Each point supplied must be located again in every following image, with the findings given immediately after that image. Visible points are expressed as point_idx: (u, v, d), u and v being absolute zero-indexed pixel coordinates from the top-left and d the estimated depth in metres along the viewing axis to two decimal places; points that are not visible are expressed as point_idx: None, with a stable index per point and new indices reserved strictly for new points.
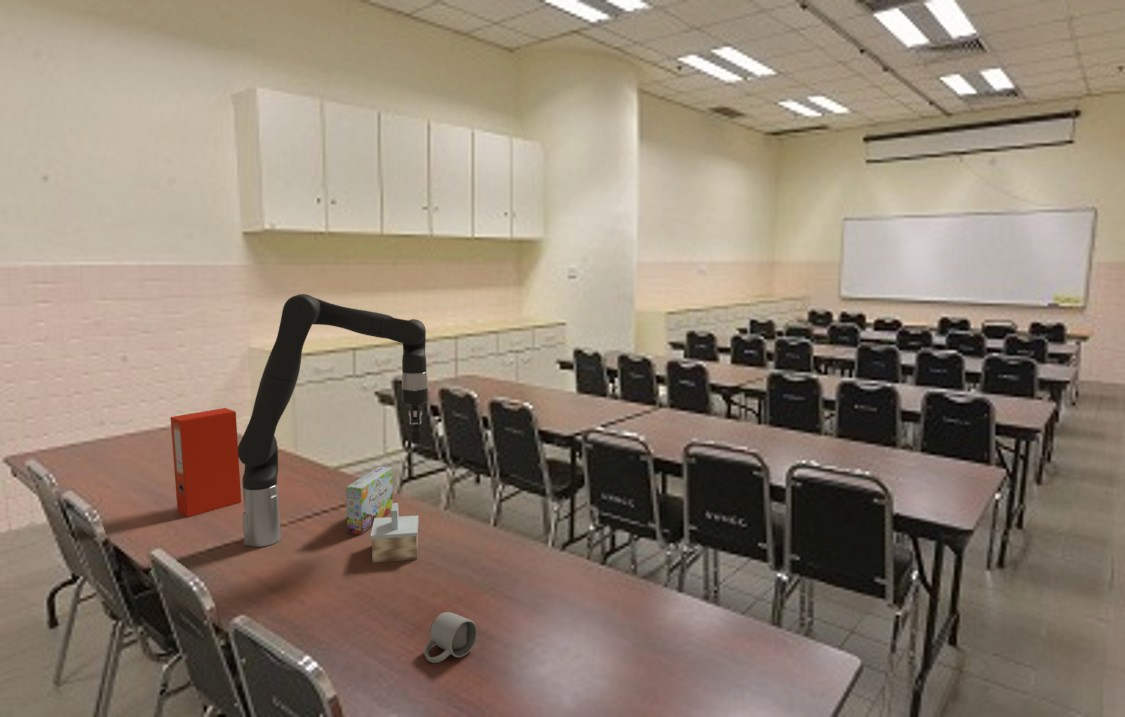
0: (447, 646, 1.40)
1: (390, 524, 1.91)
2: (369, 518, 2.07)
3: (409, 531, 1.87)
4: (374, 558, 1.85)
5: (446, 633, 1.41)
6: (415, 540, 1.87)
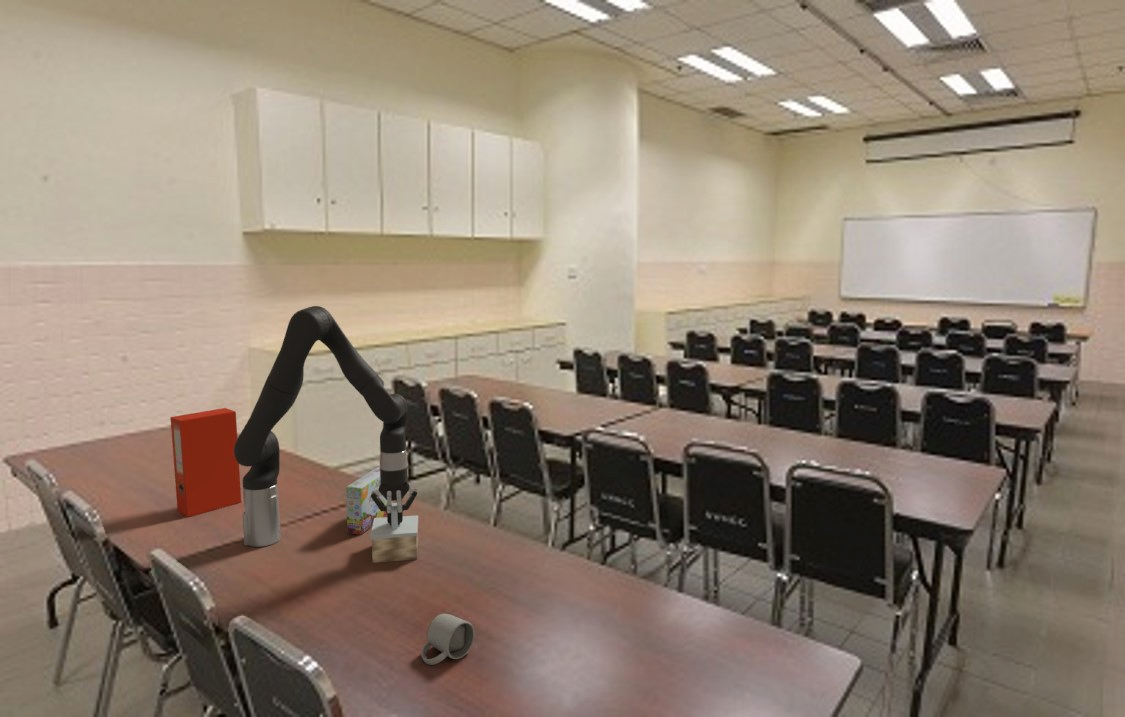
0: (444, 648, 1.40)
1: None
2: (369, 518, 2.07)
3: (409, 531, 1.87)
4: (374, 558, 1.85)
5: (443, 635, 1.40)
6: (415, 540, 1.87)
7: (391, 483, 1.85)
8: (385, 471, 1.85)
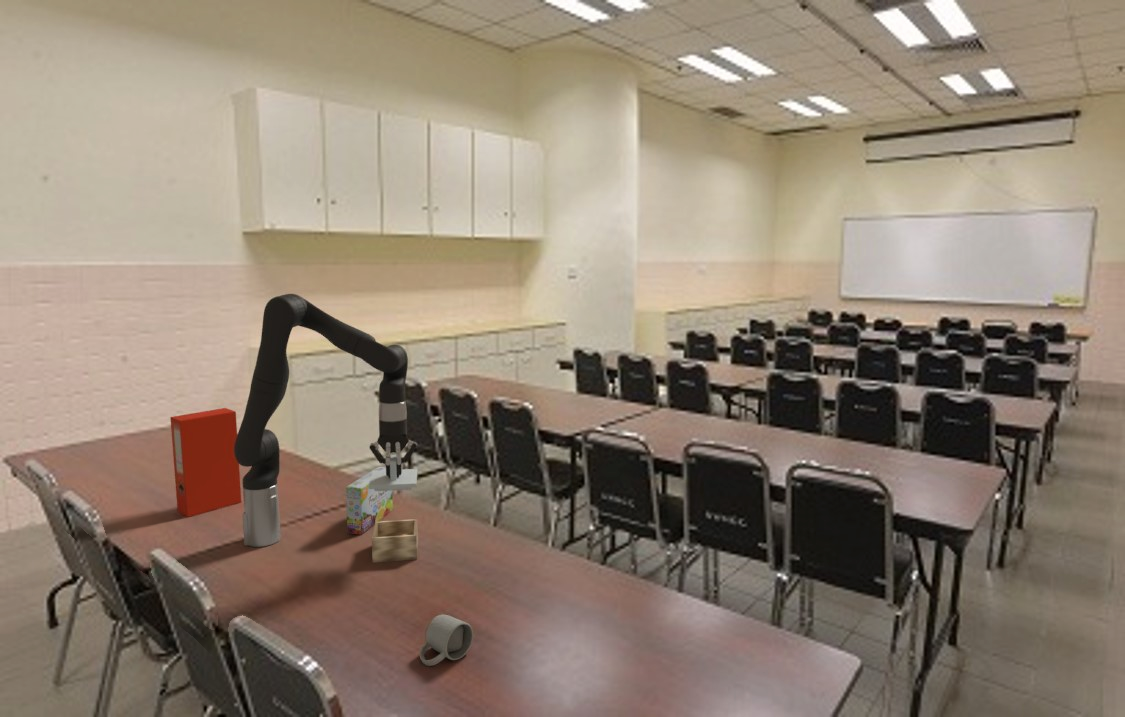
0: (442, 649, 1.39)
1: None
2: (369, 518, 2.07)
3: (408, 482, 1.85)
4: (374, 558, 1.85)
5: (442, 636, 1.40)
6: (415, 540, 1.87)
7: (390, 434, 1.83)
8: (384, 422, 1.83)
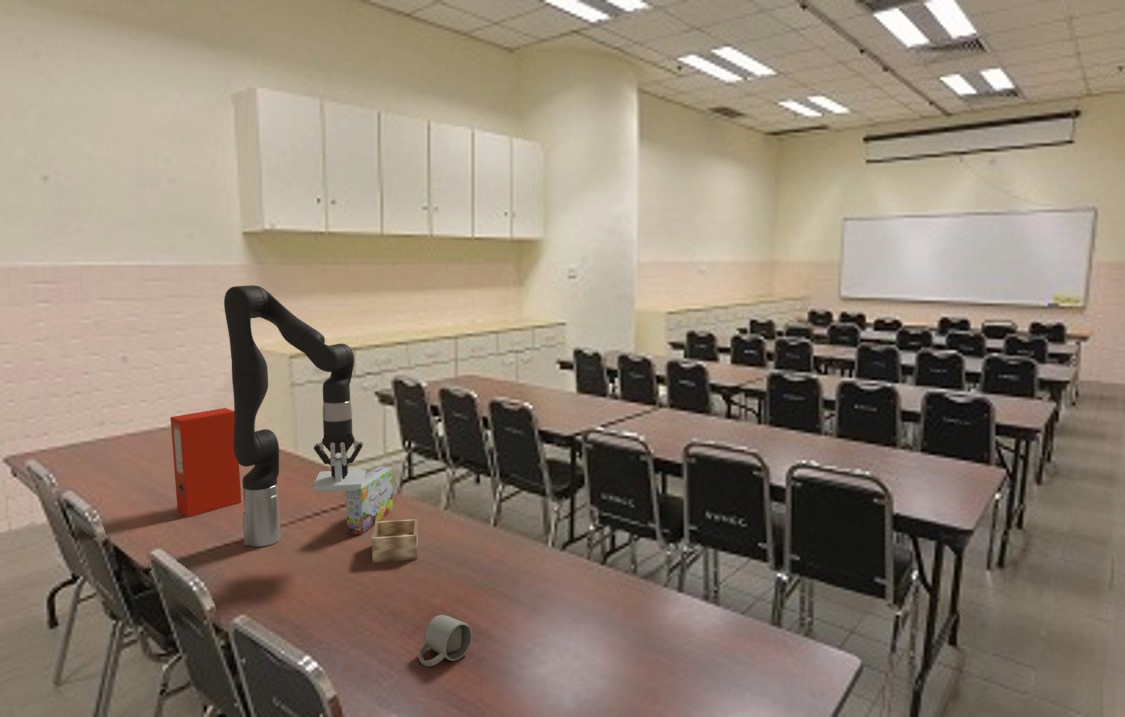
0: (441, 649, 1.39)
1: None
2: (369, 518, 2.07)
3: (352, 483, 1.82)
4: (374, 558, 1.85)
5: (440, 636, 1.40)
6: (415, 540, 1.87)
7: (334, 434, 1.80)
8: (328, 422, 1.80)
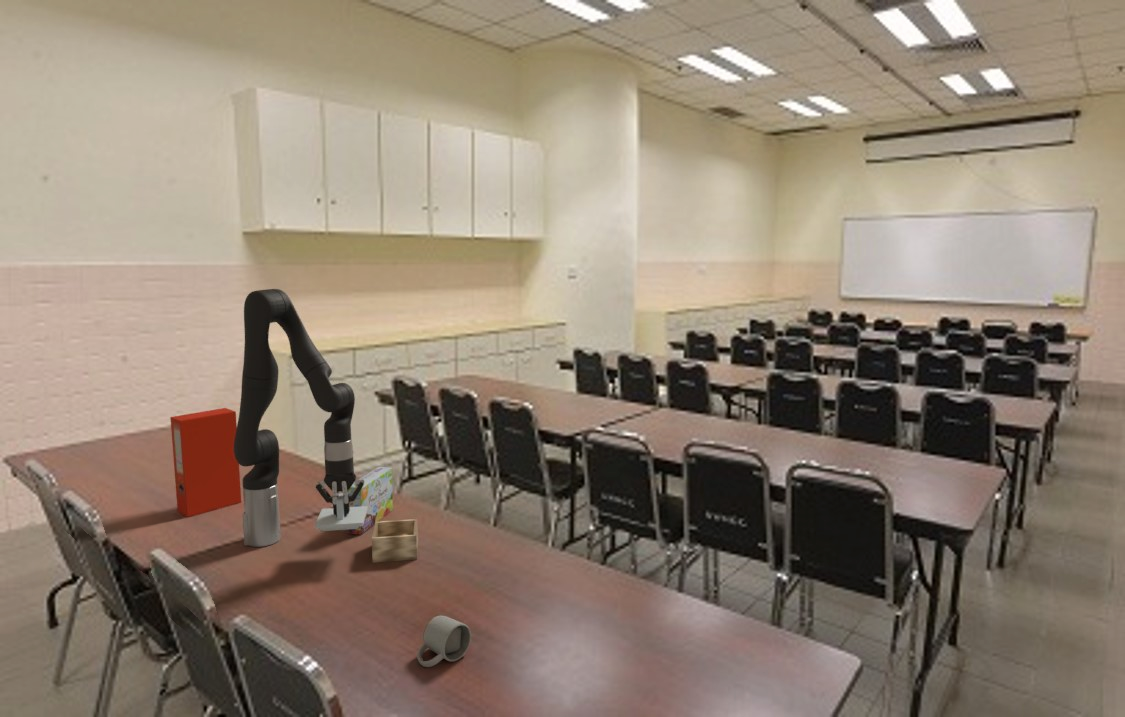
0: (440, 650, 1.39)
1: None
2: (369, 518, 2.07)
3: (354, 521, 1.83)
4: (374, 558, 1.85)
5: (439, 637, 1.39)
6: (415, 540, 1.87)
7: (335, 473, 1.82)
8: (329, 461, 1.82)
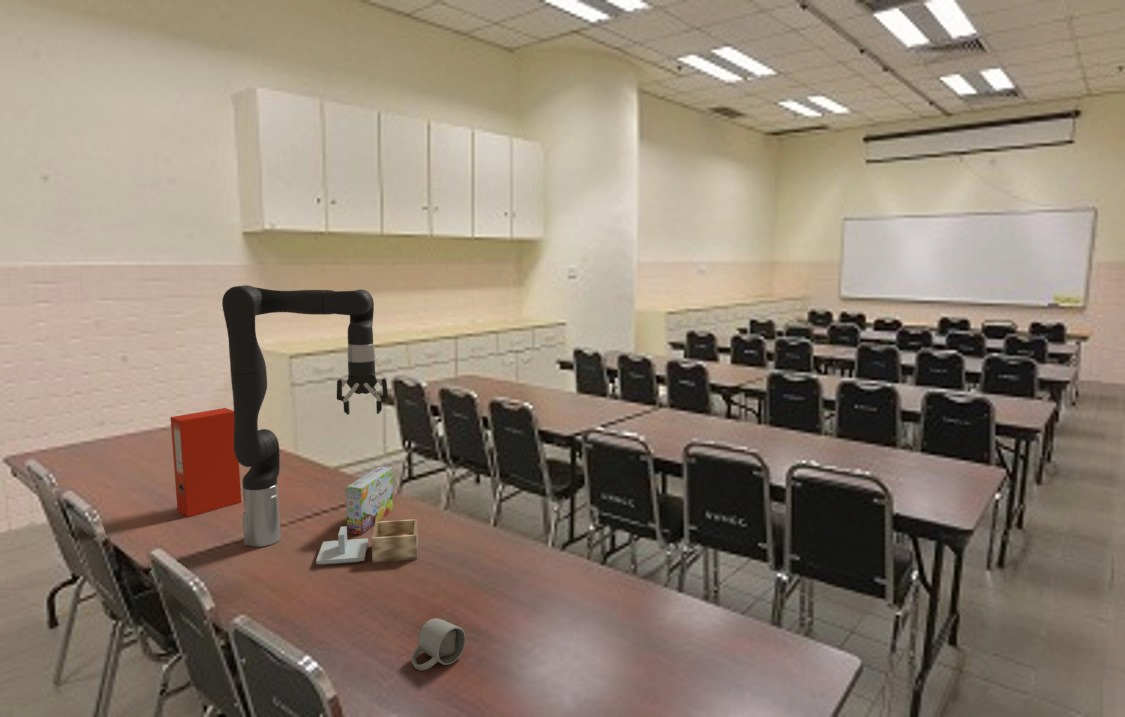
0: (434, 653, 1.38)
1: (338, 548, 1.90)
2: (369, 518, 2.07)
3: (356, 555, 1.85)
4: (374, 558, 1.85)
5: (433, 640, 1.38)
6: (415, 540, 1.87)
7: (358, 374, 1.91)
8: (352, 363, 1.91)
